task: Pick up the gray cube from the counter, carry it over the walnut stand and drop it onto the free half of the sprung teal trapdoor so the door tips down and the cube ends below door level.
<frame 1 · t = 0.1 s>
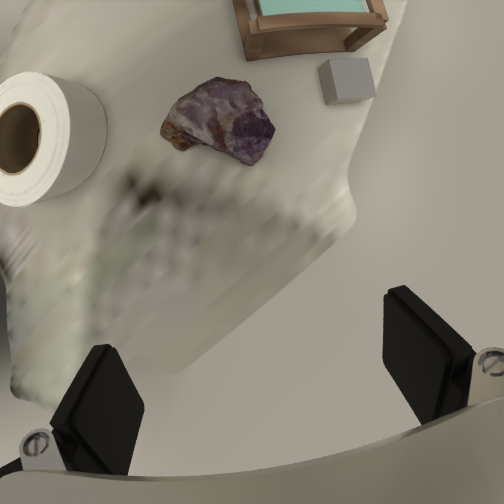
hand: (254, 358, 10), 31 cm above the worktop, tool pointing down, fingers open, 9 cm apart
rock: (220, 123, 37), on the worktop
gray cube: (339, 85, 35), on the worktop
toilet paper roll: (60, 137, 35), on the worktop
frame: (290, 8, 32), on the worktop
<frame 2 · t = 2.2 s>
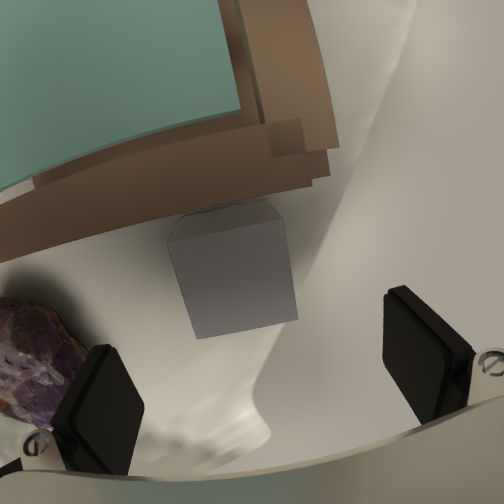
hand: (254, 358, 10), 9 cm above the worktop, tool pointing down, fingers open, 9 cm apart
rock: (39, 324, 20), on the worktop
gray cube: (233, 248, 19), on the worktop
frame: (123, 68, 15), on the worktop
trapdoor: (42, 19, 6), point 9 cm above the worktop, hinge at 0.0°
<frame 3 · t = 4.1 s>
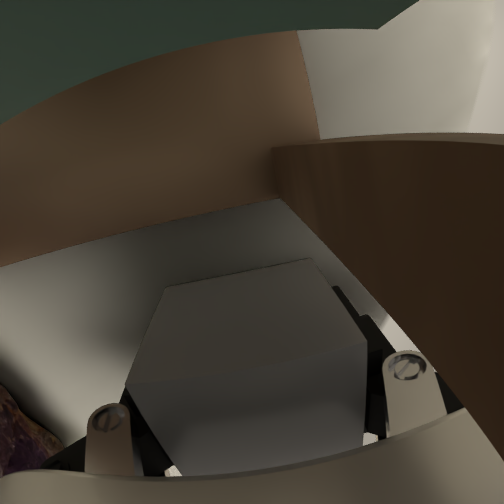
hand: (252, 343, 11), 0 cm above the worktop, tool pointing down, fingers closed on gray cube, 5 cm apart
gray cube: (251, 335, 11), on the worktop, touching gripper
frame: (70, 38, 7), on the worktop
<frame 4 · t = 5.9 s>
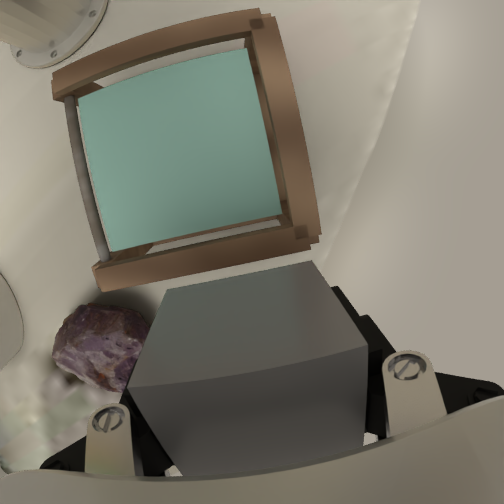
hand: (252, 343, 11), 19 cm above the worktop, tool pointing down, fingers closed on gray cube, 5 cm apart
rock: (121, 323, 31), on the worktop
gray cube: (252, 337, 11), point 18 cm above the worktop, touching gripper
frame: (195, 152, 26), on the worktop
trapdoor: (173, 149, 18), point 9 cm above the worktop, hinge at 0.0°
when the fingers open (13 cm above the worktop, at t = 7.8 s): gray cube drops 7 cm and tips over, resting on trapdoor.
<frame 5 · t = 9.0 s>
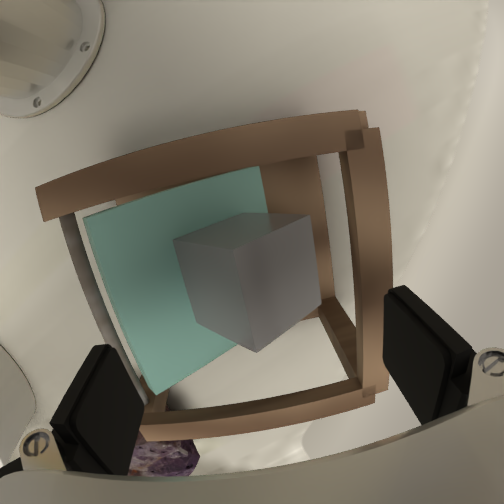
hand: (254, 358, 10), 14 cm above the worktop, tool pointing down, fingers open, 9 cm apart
rock: (143, 405, 28), on the worktop
gray cube: (220, 266, 18), point 5 cm above the worktop, tilted 40°, touching trapdoor
frame: (228, 243, 23), on the worktop
trapdoor: (202, 275, 18), point 5 cm above the worktop, hinge at -39.7°, touching gray cube
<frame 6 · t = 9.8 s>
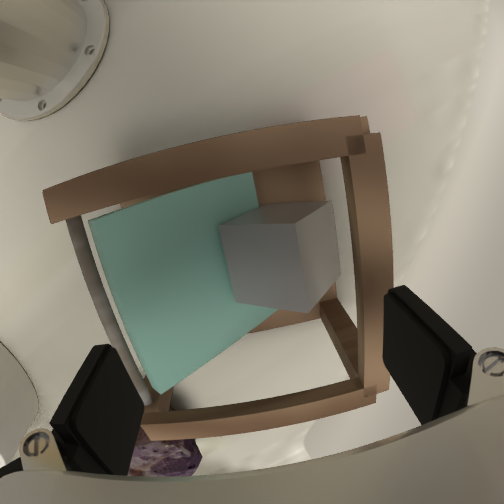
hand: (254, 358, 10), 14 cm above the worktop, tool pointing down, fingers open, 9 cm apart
rock: (146, 406, 28), on the worktop
gray cube: (251, 250, 21), point 3 cm above the worktop, tilted 52°, touching trapdoor
frame: (231, 246, 23), on the worktop
trapdoor: (201, 275, 19), point 5 cm above the worktop, hinge at -44.8°, touching gray cube
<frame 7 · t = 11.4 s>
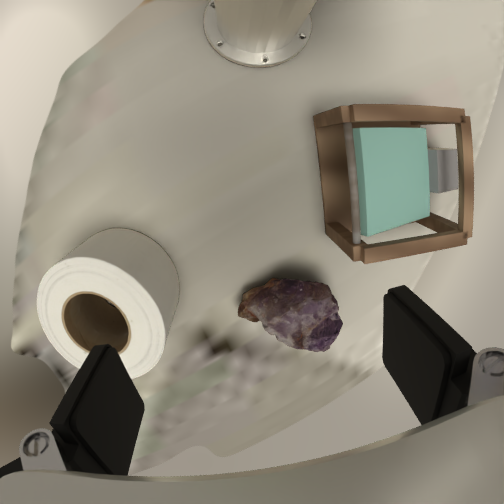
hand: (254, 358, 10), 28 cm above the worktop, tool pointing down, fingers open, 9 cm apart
rock: (289, 295, 41), on the worktop
gray cube: (421, 169, 32), point 4 cm above the worktop, tilted 110°, touching frame
toilet paper roll: (124, 283, 40), on the worktop
frame: (374, 170, 36), on the worktop
trapdoor: (397, 176, 30), point 7 cm above the worktop, hinge at -21.0°
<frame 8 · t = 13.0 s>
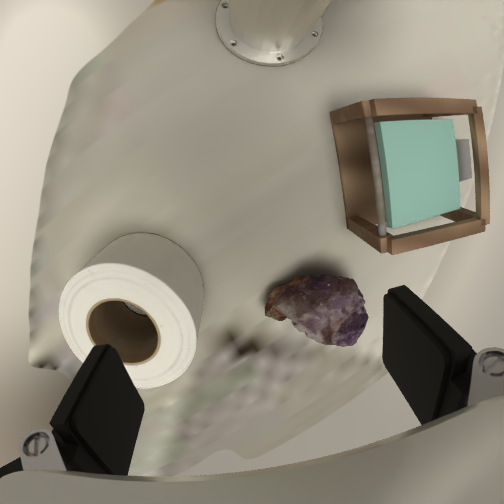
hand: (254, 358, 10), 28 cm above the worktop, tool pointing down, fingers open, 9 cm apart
rock: (313, 292, 41), on the worktop
gray cube: (436, 161, 32), point 4 cm above the worktop, tilted 109°, touching frame, trapdoor
toilet paper roll: (146, 289, 40), on the worktop
frame: (391, 163, 36), on the worktop
trapdoor: (423, 168, 29), point 8 cm above the worktop, hinge at -10.0°, touching gray cube
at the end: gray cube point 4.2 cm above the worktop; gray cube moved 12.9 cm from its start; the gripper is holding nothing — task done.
